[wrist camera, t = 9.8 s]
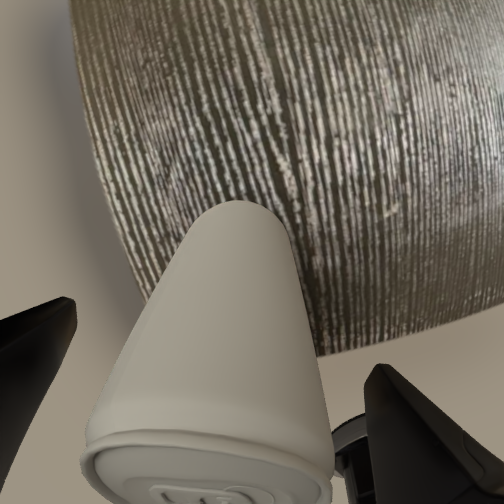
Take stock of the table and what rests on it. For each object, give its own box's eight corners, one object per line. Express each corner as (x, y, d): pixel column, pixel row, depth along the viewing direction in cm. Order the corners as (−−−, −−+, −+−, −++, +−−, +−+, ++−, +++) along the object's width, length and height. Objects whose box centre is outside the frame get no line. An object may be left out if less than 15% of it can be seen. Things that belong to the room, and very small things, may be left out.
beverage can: (289, 289, 16) (322, 533, 5) (194, 292, 16) (125, 523, 5) (288, 194, 14) (370, 431, 3) (182, 199, 14) (23, 410, 3)
